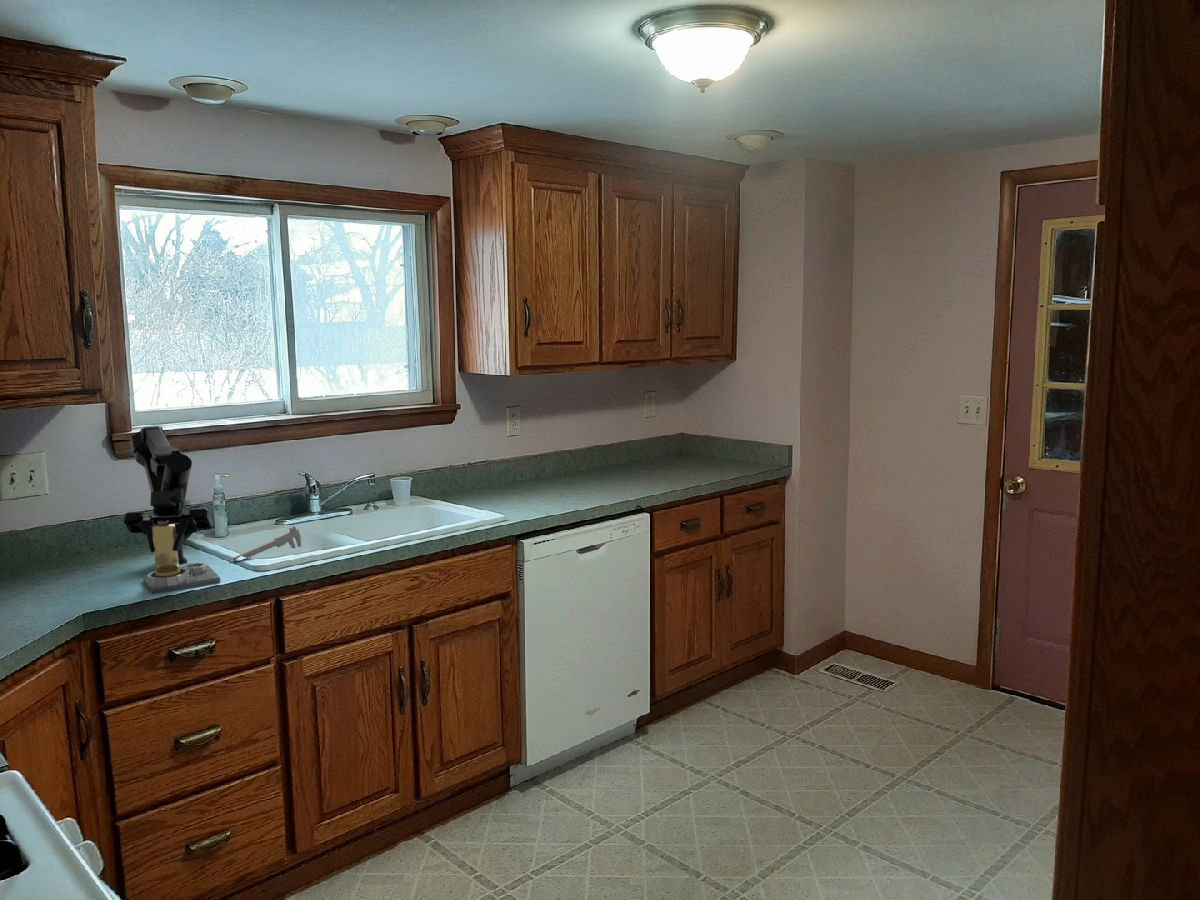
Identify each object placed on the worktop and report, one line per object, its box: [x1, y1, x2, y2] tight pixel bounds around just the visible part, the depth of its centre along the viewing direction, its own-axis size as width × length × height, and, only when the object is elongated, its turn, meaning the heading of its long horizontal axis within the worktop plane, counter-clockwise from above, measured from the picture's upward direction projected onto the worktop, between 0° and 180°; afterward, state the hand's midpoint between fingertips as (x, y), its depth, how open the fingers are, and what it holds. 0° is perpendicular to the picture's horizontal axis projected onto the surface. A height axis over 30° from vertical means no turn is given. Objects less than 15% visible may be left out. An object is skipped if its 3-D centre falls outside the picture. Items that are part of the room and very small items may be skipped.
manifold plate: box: [142, 562, 221, 595], centre depth 221 cm, size 13×15×3 cm
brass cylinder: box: [152, 520, 181, 578], centre depth 216 cm, size 5×5×14 cm
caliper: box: [228, 525, 302, 564], centre depth 244 cm, size 20×1×6 cm, turn 139°
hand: (164, 550), depth 215 cm, fingers closed on brass cylinder, 5 cm apart
